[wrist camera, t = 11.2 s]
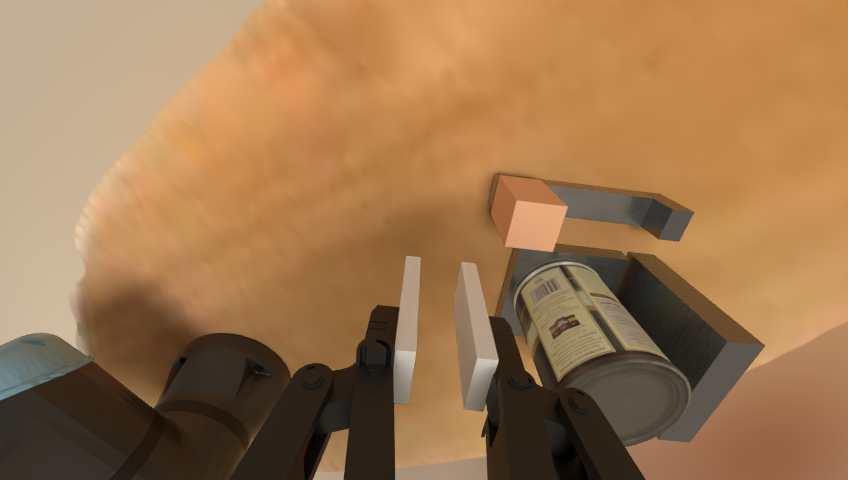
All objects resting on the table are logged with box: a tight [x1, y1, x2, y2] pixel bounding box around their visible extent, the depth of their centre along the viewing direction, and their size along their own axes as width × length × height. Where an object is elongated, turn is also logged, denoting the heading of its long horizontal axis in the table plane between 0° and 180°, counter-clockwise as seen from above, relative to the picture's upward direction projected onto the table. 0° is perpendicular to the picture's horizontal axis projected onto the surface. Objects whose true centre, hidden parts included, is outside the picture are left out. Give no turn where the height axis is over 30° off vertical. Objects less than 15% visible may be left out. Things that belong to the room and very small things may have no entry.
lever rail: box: [488, 174, 694, 242], centre depth 33 cm, size 18×3×5 cm, turn 83°
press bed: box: [495, 244, 765, 442], centre depth 34 cm, size 16×12×14 cm
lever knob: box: [491, 175, 568, 252], centre depth 29 cm, size 4×4×7 cm
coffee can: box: [514, 261, 691, 447], centre depth 32 cm, size 10×10×14 cm
